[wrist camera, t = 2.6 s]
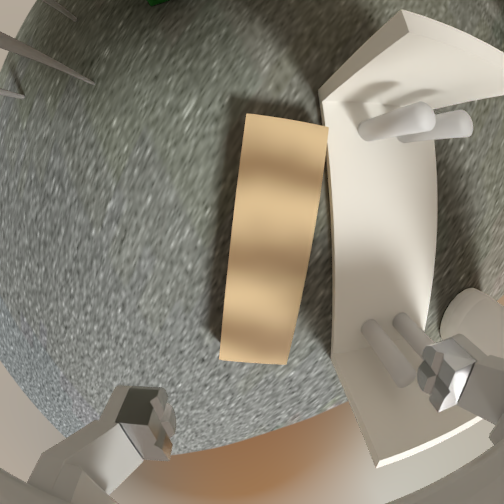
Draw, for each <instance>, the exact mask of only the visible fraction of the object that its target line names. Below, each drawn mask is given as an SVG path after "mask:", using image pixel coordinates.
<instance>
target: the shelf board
mask: <svg viewBox="0 0 504 504" xmlns="http://www.w3.org/2000/svg"><path fill="white" fill-rule="evenodd" d="M328 131H329V127H326V126H321V125H316V124H311V123H306V122H301V121H295V120H290V119H284V118H277V117H271V116H264V115H256V114H248V113H246V120H245V128H244V135H243V143H242V150H241V158H240V166H239V174H238V182H237V190H236V198H235V207H234V216H233V224H232V233H231V242H230V251H229V261H228V270H227V280H226V290H225V300H224V311H223V321H222V332H221V343H220V355H219V360H227V361H238V362H250V363H264V364H283V365H286V364H287V360H288V356H289V351H290V347H291V343H292V339H293V334H294V330H295V326H296V321H297V317H298V312H299V308H300V303H301V298H302V293H303V288H304V283H305V278H306V273H307V268H308V263H309V258H310V252H311V247H312V241H313V235H314V230H315V224H316V218H317V211H318V205H319V199H320V192H321V185H322V178H323V171H324V164H325V156H326V148H327V140H328Z"/></svg>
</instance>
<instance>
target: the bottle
mask: <svg viewBox="0 0 504 504" xmlns="http://www.w3.org/2000/svg"><path fill="white" fill-rule="evenodd" d="M457 334H462V335H464V336H465V337H466V338H468V339H469V340H470V341H471V342H472V343H473V344H474V345H476V346H477V347H478V348H479V349H480V350H481V351H482V352H484V353H485V354H486V355H487V356H489V355H493V356H496V357H500V358H504V306H502V305H501V304H499V303H498V302H497V301H495V300H494V299H493V298H492V297H491V296H489V295H487V294H486V293H483V292H481V291H479V290H478V289H475V288H473V287H472V288H468V289H465V290H464V291H462V292H461V293H459V294H458V295H457V296H456V297H455V298H454V299H453V300H452V301H451V303H450V304H449V306H448V308H447V309H446V311H445V313H444V316H443V318H442V321H441V326H440V335H441V339H442V340H444V339H448V338H449V337H452V336H454V335H457Z"/></svg>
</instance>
